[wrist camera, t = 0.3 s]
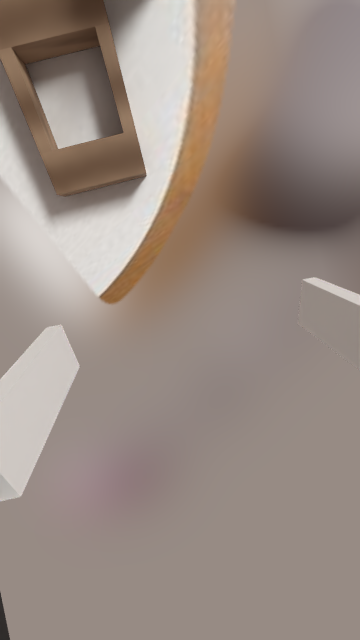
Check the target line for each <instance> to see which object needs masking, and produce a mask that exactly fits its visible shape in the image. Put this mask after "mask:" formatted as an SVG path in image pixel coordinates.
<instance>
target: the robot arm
mask: <svg viewBox="0 0 360 640" xmlns="http://www.w3.org/2000/svg"><path fill="white" fill-rule="evenodd" d="M298 324H299V325H300V326H301V327H303V328H304V329H305V330H306V331H308V332H309V333H310V334H312V335H313V336H314V337H316V338H317V339H318V340H320V341H321V342H322V343H324V344H325V345H327V346H328V347H329V348H330V349H332V350H333V351H334V352H336V353H337V354H338V355H340V356H341V357H342V358H344V359H345V360H346V361H347V362H349V363H350V364H351V365H353V366H354V367H355V368H357V369H358V370H359V371H360V295H359V294H356V293H354V292H351V291H349V290H346V289H344V288H341V287H339V286H336V285H333V284H331V283H328V282H326V281H323V280H321V279H318V278H316V277H314V278H309V279H304V280H302V286H301V296H300V306H299V316H298ZM78 369H79V364H78V361H77V359H76V357H75V355H74V352H73V350H72V348H71V345H70V343H69V341H68V339H67V336H66V334H65V332H64V329H63V327H62V325H57V326H51V327H47V328H46V329H45V330H44V331H43V332H42V333H41V335H39V337H38V338H37V339H36V340H35V341H34V342H33V343H32V345H31V346H30V347H29V348H28V349H27V350H26V351H25V352H24V354H23V355H22V356H21V357H20V358H19V359H18V360H17V361H16V362H15V364H14V365H13V366H12V367H11V368H10V369H9V370H8V371H7V373H6V374H5V375H4V376H3V377H2V378H1V379H0V501H4V500H8V499H13V498H18V497H21V495H22V493H23V491H24V489H25V486H26V484H27V482H28V480H29V477H30V475H31V473H32V471H33V469H34V466H35V464H36V462H37V460H38V458H39V455H40V453H41V451H42V449H43V447H44V444H45V442H46V440H47V438H48V435H49V433H50V431H51V429H52V427H53V424H54V422H55V420H56V417H57V415H58V413H59V411H60V409H61V407H62V404H63V402H64V400H65V398H66V396H67V393H68V391H69V389H70V387H71V384H72V382H73V380H74V378H75V376H76V373H77V371H78ZM0 640H10V638H9V633H8V628H7V623H6V618H5V613H4V608H3V604H2V598H1V593H0Z"/></svg>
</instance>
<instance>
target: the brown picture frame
mask: <svg viewBox="0 0 360 640" xmlns="http://www.w3.org/2000/svg"><path fill="white" fill-rule="evenodd" d="M97 46H100V47H101V51H102V54H103V58H104V62H105V66H106V69H107V73H108V77H109V80H110V84H111V88H112V92H113V95H114V99H115V103H116V106H117V110H118V114H119V118H120V121H121V125H122V129H123V132H124V133H121V134H117V135H113V136H109V137H105V138H101V139H97V140H93V141H89V142H85V143H81V144H77V145H73V146H69V147H65V148H62V149H58V148H57V145H56V143H55V140H54V137H53V135H52V132H51V130H50V127H49V124H48V122H47V119H46V117H45V114H44V111H43V109H42V106H41V103H40V101H39V98H38V96H37V93H36V90H35V88H34V85H33V83H32V80H31V77H30V75H29V72H28V70H27V67H26V64H28V63H33V62H37V61H41V60H45V59H49V58H53V57H57V56H61V55H65V54H69V53H73V52H77V51H81V50H85V49H89V48H93V47H97ZM0 59H1V61H2V64H3V66H4V68H5V71H6V73H7V76H8V78H9V80H10V83H11V85H12V88H13V90H14V92H15V95H16V97H17V100H18V102H19V104H20V107H21V109H22V112H23V114H24V116H25V119H26V121H27V124H28V126H29V128H30V131H31V133H32V136H33V138H34V140H35V143H36V145H37V148H38V150H39V152H40V155H41V157H42V160H43V162H44V164H45V167H46V169H47V172H48V174H49V176H50V179H51V181H52V184H53V186H54V189H55V191H56V193H57V195H60V196H69V195H73V194H77V193H81V192H85V191H89V190H93V189H97V188H101V187H105V186H109V185H112V184H116V183H120V182H124V181H128V180H132V179H136V178H140V177H144V176H146V170H145V166H144V162H143V158H142V154H141V150H140V146H139V142H138V138H137V134H136V130H135V126H134V122H133V118H132V114H131V110H130V106H129V102H128V98H127V94H126V90H125V86H124V82H123V78H122V74H121V70H120V66H119V62H118V58H117V54H116V50H115V46H114V42H113V37H112V33H111V29H110V25H109V21H108V17H107V13H106V9H105V5H104V1H103V0H0Z"/></svg>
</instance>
